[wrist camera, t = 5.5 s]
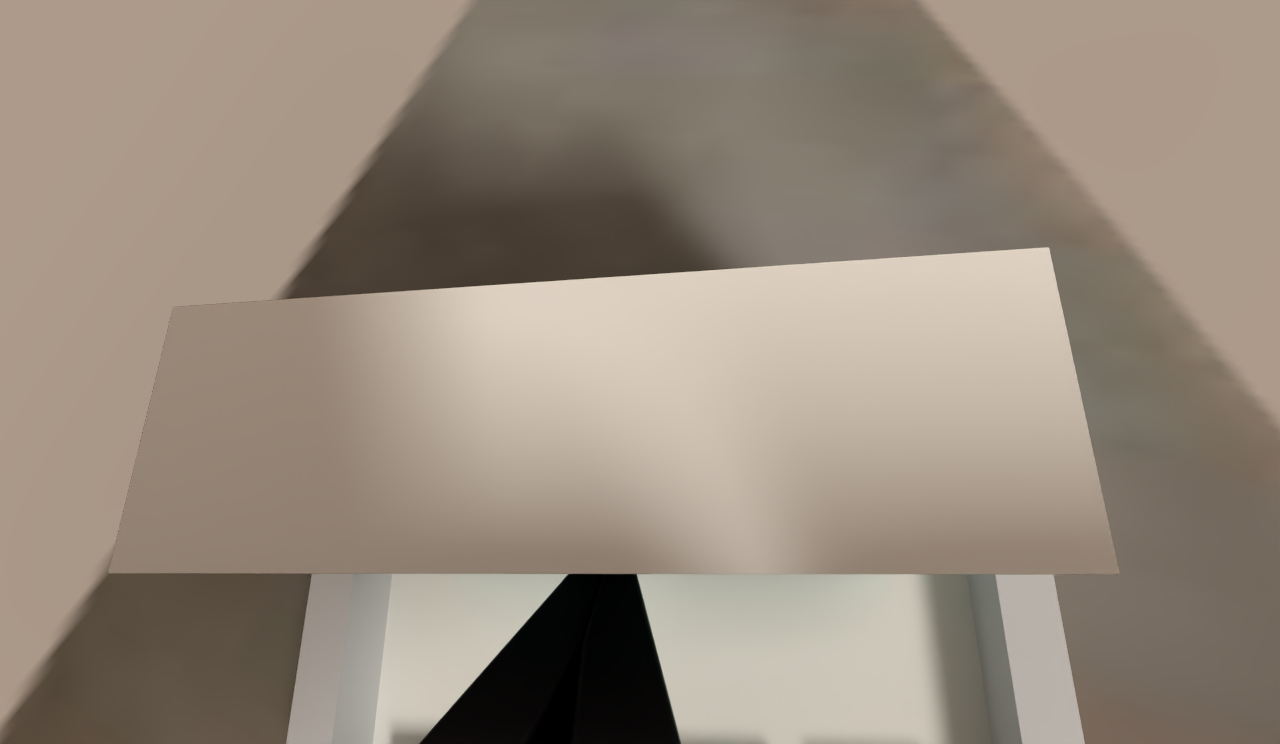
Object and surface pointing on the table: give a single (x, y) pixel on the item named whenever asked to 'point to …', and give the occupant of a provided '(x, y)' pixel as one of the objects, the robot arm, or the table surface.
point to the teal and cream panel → (629, 428)
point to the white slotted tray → (714, 655)
